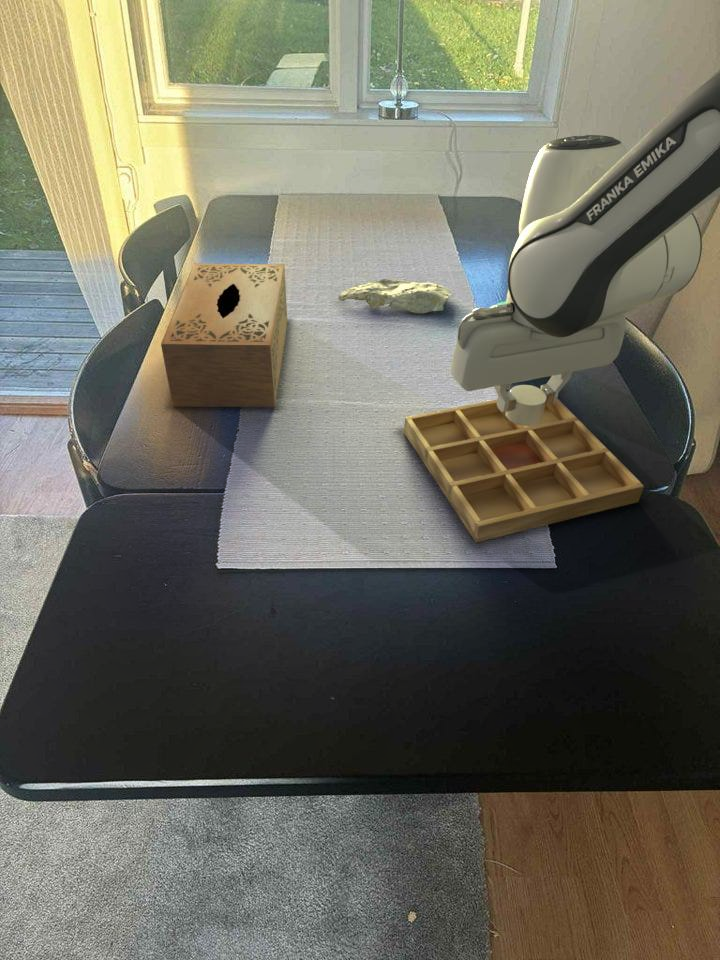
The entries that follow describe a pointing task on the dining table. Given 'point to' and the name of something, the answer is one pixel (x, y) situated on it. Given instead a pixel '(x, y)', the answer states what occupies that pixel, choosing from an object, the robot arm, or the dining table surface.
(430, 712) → the dining table surface
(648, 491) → the dining table surface
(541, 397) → the white cylinder
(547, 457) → the board
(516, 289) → the robot arm
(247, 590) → the dining table surface
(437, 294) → the rock
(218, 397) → the tissue box cover
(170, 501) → the dining table surface
